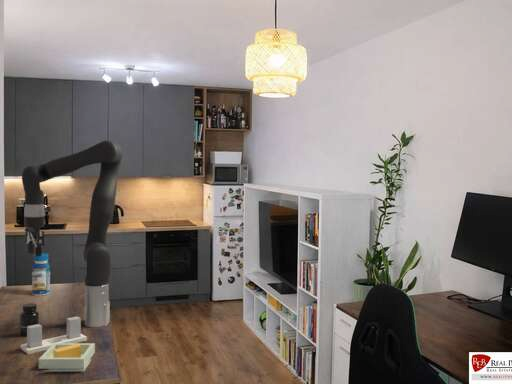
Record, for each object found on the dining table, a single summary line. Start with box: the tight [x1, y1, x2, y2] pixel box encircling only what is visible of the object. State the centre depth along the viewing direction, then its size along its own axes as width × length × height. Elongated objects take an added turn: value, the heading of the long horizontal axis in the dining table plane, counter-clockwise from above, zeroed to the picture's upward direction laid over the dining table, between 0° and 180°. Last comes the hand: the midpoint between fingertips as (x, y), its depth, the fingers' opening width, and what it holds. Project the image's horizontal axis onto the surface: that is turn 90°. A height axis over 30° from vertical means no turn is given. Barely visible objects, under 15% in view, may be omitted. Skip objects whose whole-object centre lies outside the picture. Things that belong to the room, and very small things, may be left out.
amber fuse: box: [53, 344, 81, 358], centre depth 166 cm, size 4×3×8 cm
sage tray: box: [38, 342, 96, 373], centre depth 166 cm, size 14×14×4 cm
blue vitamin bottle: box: [31, 252, 51, 297], centre depth 250 cm, size 8×8×20 cm
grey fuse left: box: [26, 323, 43, 348], centre depth 175 cm, size 4×3×8 cm
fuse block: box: [20, 333, 88, 355], centre depth 180 cm, size 21×7×2 cm, turn 134°
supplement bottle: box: [19, 302, 40, 338], centre depth 190 cm, size 7×7×12 cm
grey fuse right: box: [66, 316, 82, 339], centre depth 185 cm, size 4×3×8 cm
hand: (34, 254), depth 205 cm, fingers open, 8 cm apart
